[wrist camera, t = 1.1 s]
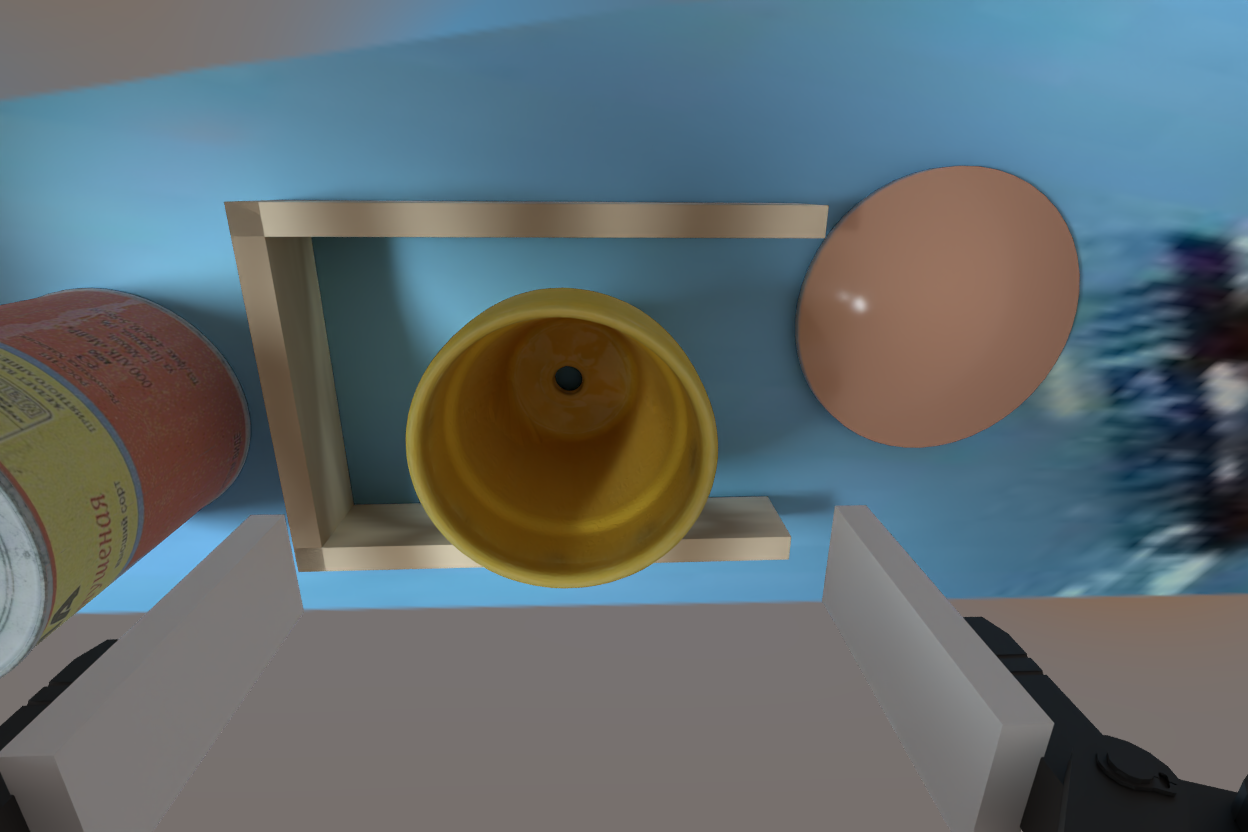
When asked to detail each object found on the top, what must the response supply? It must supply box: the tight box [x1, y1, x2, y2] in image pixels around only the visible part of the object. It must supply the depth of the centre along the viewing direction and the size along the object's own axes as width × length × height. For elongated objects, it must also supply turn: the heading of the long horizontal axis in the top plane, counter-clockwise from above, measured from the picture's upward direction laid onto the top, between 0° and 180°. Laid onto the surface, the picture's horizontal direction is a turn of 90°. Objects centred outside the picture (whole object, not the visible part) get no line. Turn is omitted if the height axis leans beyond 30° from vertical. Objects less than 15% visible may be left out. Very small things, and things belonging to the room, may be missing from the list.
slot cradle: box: [224, 200, 829, 572], centre depth 28 cm, size 22×16×4 cm
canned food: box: [0, 288, 251, 679], centre depth 23 cm, size 11×11×12 cm
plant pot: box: [406, 288, 718, 588], centre depth 25 cm, size 10×10×10 cm
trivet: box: [795, 166, 1080, 448], centre depth 29 cm, size 13×13×1 cm
